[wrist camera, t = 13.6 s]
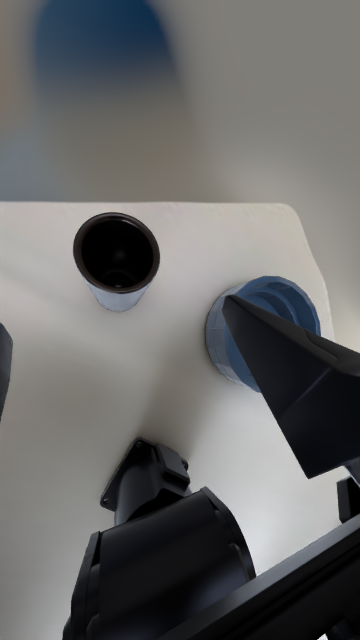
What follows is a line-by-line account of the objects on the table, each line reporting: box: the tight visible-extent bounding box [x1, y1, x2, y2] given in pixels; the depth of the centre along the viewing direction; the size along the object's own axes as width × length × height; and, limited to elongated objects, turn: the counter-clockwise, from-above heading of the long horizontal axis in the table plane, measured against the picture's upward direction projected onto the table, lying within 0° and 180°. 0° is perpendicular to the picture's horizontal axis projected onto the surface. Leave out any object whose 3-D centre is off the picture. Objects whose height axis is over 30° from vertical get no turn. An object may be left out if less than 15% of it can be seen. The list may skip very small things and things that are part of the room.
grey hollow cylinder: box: [73, 212, 160, 312], centre depth 16 cm, size 4×4×10 cm
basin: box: [206, 276, 321, 393], centre depth 23 cm, size 12×12×4 cm
